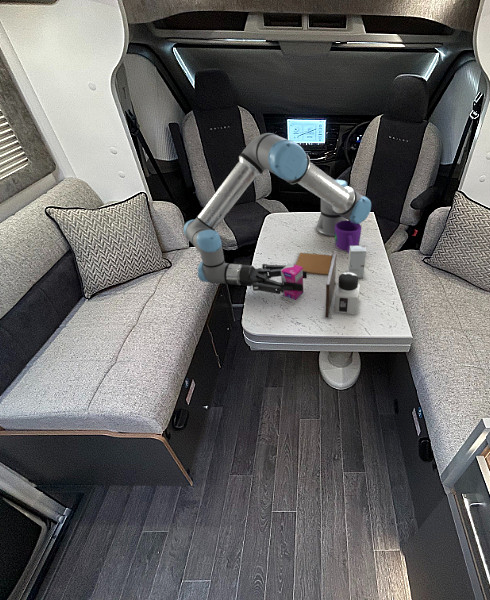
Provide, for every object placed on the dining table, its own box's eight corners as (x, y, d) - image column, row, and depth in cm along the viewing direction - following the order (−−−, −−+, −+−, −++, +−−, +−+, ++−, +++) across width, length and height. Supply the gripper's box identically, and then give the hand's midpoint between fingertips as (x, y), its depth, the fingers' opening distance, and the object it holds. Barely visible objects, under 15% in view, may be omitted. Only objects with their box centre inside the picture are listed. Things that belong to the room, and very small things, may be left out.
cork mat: (300, 253, 147) (300, 252, 147) (332, 256, 146) (332, 255, 145) (293, 271, 137) (293, 270, 136) (327, 275, 135) (327, 274, 135)
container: (356, 314, 117) (359, 284, 109) (334, 312, 118) (335, 281, 110) (358, 300, 123) (361, 270, 115) (337, 298, 124) (338, 268, 116)
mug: (333, 240, 157) (333, 220, 151) (357, 239, 158) (359, 219, 151) (336, 260, 144) (337, 239, 137) (363, 259, 144) (365, 238, 138)
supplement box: (282, 296, 123) (280, 270, 116) (290, 287, 128) (289, 261, 120) (295, 301, 121) (294, 274, 114) (303, 292, 126) (303, 266, 118)
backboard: (332, 283, 131) (333, 251, 122) (335, 283, 131) (336, 252, 122) (325, 317, 116) (326, 284, 107) (328, 317, 116) (329, 284, 107)
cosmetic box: (348, 278, 134) (350, 251, 126) (347, 271, 137) (348, 245, 129) (363, 277, 134) (366, 251, 126) (362, 271, 137) (365, 245, 130)
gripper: (251, 268, 132) (309, 274, 130) (234, 300, 117) (299, 307, 115) (249, 251, 128) (309, 257, 125) (230, 282, 112) (298, 289, 110)
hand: (304, 281), depth 120 cm, fingers closed on supplement box, 7 cm apart
